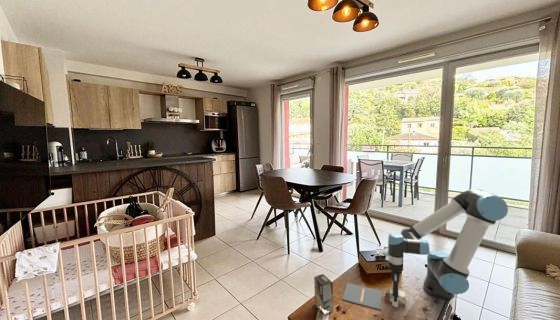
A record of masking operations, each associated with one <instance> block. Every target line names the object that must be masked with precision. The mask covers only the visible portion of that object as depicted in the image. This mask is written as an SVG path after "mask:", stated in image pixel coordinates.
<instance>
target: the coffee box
mask: <svg viewBox="0 0 560 320" xmlns="http://www.w3.org/2000/svg"><path fill="white" fill-rule="evenodd" d="M313 278H314V279H313V280H314V281H313V284H314V305H315V306H316V307H317V308H318V307H320V306H321V307H322V308H323V309H324V310H327V311H329V312H330V313H333V312H334V296H333V294H334V292H333V288H334V287H333V282H332V281H331V279H329V278H328V277H327V276H326V275H325V274H324V273H323V274H318V275H316V276H314V277H313Z"/></svg>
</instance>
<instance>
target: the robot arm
mask: <svg viewBox="0 0 560 320" xmlns="http://www.w3.org/2000/svg"><path fill="white" fill-rule="evenodd" d="M508 213H509V207H508V204H507V202H506V201H505V200H504V199H503V198H501V197H500V196H498V195H497V194H494V193H491V192H488V191H485V190H482V189H479V188H471V189H467V190H465V191H463V192H460V193H459V194H457V195H455V196H454V197H452V198H451V199H450V202H449V203H447V204H445V205H443V206H442V207H441V208H439V209H438V210H436V211H435V212H433V213H432V214H430V215H428V216H426V217H425V218H423V219H422V220H420V221H419V222H417V223H416V224H414V225H412V226H411V227H405V228H402V229H401V231H400V233H396V232H392V233H388V237H387V238H388V239H387V251H388V254H386V256H387V258H388V259H387V260H388V261H387V268H388V269H389V270H390V271H391V275H390V276H391V281H392V285H391V286H392V288H391V289H393V294H391V295H393V302H391V303H392V305H391V306H392V307H394V308H395V307H396V308H399V303H398V290H399V283H400V273H401V272H403V271H404V254H411V255H412V254H413V255H419V256H420V255H421V256H424V255H425V256H426V258H427V260H426V265H427V266H426V271H427V272H426V277H425V278H424V281H423V284H422V285H423V289H424V291H425V292H426V293H427V294H429V295H431V296H432V297H434V298H438V299H442V300H452V299H454V298H455V296H456V295H460V294H461V295H463V294H465V293H466V292H468V290H469V288H470V283H469V281H468V280H469V279H468V278H469V275H470V273H471V271H470V270H469V266H470V264H471V262H472V260H473V259H474V256H475V254H476V252H477V251H478V248H480V247H479V246H480V244H481V243H482V241H483V238H484V237H485V235H486V233H487V231H488V229H489V227H491V226H495V224H496V222H497V221H500V220H503V219H505V217H506V216H507V215H508ZM462 214H465V215H466V217H467V218H466V219H465V222H464V224H463V226H462V228H461V231H460V232H459V235H457V238H456V240H455V243H454V244H453V247H451V251H450V253H448V252H444V251H441V250H440V251H439V250H430V244H429V242H428V241H427V240H425V239H422V238H424V237H425V236H427V235H429V234H431V233H432V232H434V231H436V230H437V229H439V228H441V227H442V226H443V225H445V224H447V223H449V222H450V221H452V220H453V219H455V218H457V217H459V216H460V215H462Z"/></svg>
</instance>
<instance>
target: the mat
mask: <svg viewBox="0 0 560 320" xmlns="http://www.w3.org/2000/svg"><path fill="white" fill-rule="evenodd" d="M382 296H383V290H379V289H375V288H371V287H366V286H361V285H359V284H354V283H351V282H350V283H349V282H347V283H346V285H345V289H344V291H343V295H342V298H341V299H342V301H345V302H348V303H352V304H356V305H358V306H359V305H360V306H363V307H367V308H370V309H375V310H378V311H382V310H381V309H382Z"/></svg>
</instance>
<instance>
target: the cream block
mask: <svg viewBox="0 0 560 320" xmlns="http://www.w3.org/2000/svg"><path fill="white" fill-rule="evenodd" d="M391 294H393V289H392V288H390V287H385V298H384V299H385V301H388V302H391V303H392V302H393V295H391ZM406 298H407V297H406V291H404V290H399V289H398V305H399V304H400V305H404V306H406V304H407V303H406V302H407V299H406Z"/></svg>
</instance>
